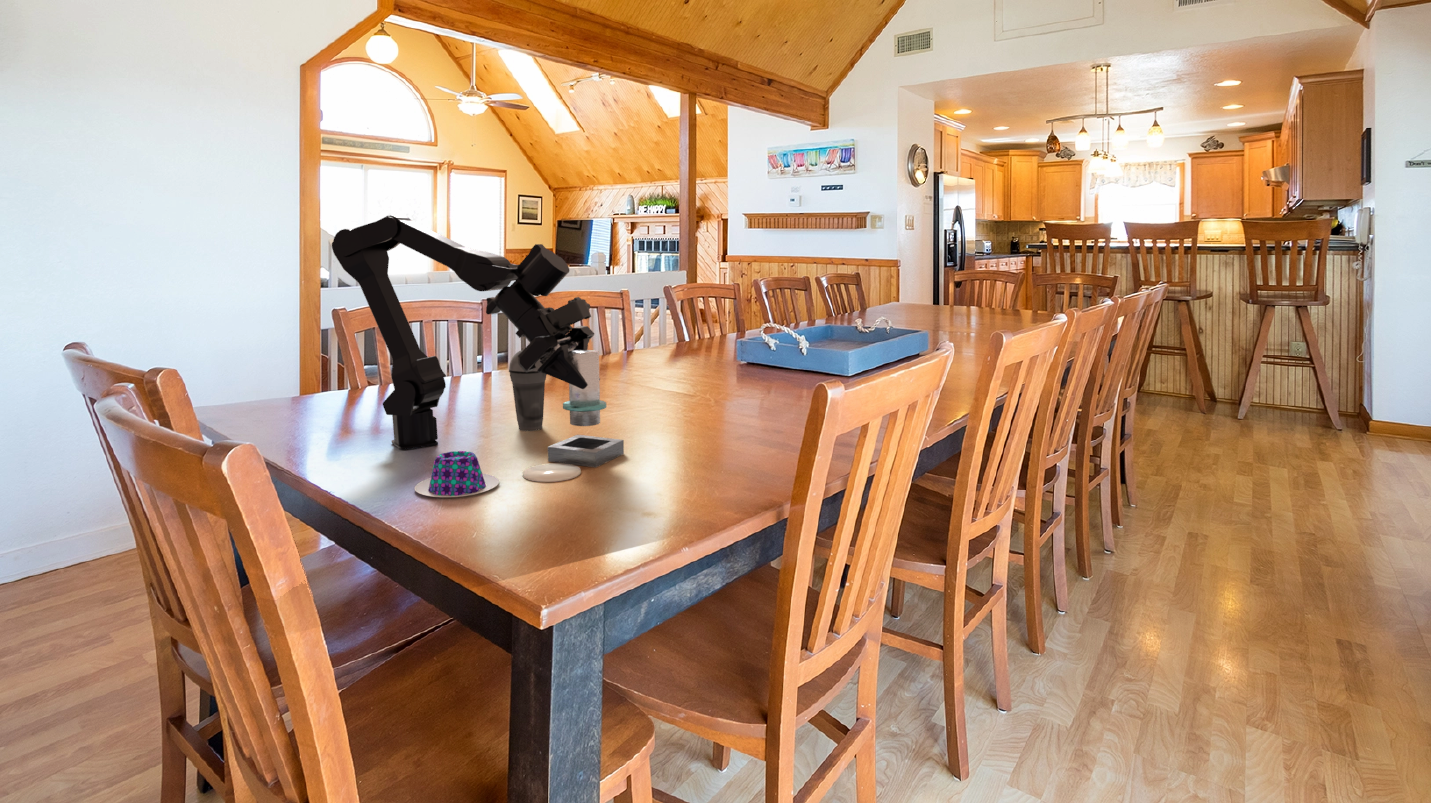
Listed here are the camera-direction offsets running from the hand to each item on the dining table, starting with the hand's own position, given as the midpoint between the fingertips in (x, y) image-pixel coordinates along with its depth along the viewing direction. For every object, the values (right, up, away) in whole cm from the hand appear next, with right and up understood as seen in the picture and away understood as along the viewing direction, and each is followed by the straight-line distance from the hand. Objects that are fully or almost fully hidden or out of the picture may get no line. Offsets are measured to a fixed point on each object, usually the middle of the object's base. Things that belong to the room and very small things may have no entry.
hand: (592, 384), depth 131 cm
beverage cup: (-16, -8, +23) cm, 29 cm away
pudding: (-18, -16, -13) cm, 28 cm away
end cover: (-1, -6, +2) cm, 7 cm away
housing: (-1, -12, +3) cm, 13 cm away
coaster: (-5, -14, -6) cm, 16 cm away
